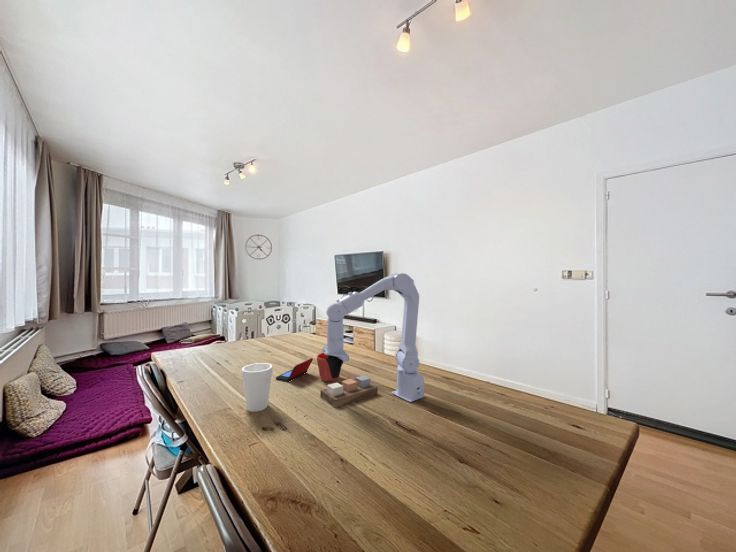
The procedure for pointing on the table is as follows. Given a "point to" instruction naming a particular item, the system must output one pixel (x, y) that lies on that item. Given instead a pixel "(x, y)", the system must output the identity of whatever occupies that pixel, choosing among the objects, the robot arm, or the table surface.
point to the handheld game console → (295, 371)
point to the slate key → (362, 381)
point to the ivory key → (334, 389)
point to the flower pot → (324, 368)
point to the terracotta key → (349, 385)
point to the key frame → (349, 395)
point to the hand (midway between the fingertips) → (335, 377)
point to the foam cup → (256, 385)
